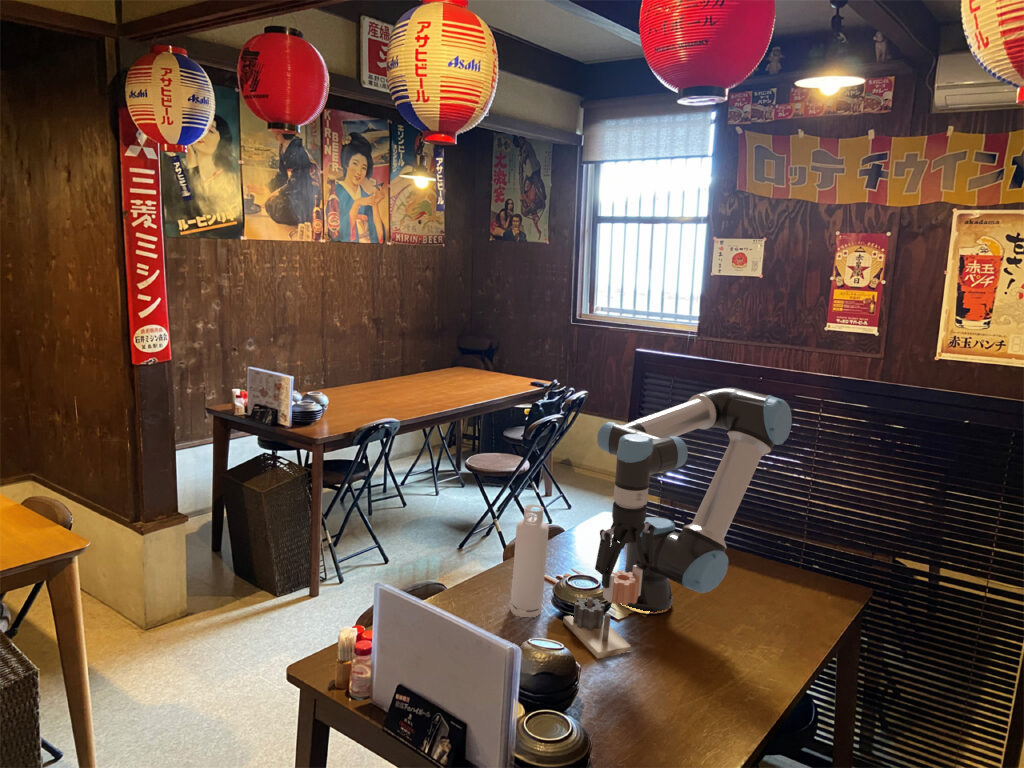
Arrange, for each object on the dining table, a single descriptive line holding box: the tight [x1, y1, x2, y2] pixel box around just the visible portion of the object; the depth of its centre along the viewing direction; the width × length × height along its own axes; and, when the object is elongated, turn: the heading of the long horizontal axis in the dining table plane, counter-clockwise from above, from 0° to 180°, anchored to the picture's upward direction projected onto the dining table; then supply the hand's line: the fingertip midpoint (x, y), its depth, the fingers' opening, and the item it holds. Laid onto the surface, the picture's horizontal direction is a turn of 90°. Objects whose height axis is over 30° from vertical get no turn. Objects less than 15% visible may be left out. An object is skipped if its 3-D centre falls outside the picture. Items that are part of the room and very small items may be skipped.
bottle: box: [509, 503, 550, 618], centre depth 187 cm, size 8×8×28 cm
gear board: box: [562, 596, 632, 659], centre depth 179 cm, size 9×17×8 cm, turn 24°
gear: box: [611, 569, 640, 605], centre depth 170 cm, size 7×7×5 cm
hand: (621, 596), depth 170 cm, fingers closed on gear, 7 cm apart
